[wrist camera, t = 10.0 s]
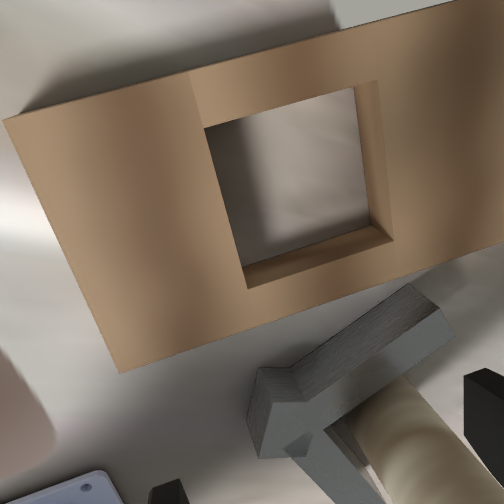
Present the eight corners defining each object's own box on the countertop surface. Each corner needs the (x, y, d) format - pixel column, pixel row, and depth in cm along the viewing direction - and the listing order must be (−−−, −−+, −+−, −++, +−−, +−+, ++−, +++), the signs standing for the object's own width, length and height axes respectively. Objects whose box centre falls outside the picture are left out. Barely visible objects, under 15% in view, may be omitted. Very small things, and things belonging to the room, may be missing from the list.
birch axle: (342, 433, 25) (461, 641, 16) (331, 379, 23) (457, 577, 14) (407, 407, 25) (558, 596, 16) (401, 353, 23) (566, 529, 14)
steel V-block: (228, 494, 24) (238, 537, 22) (281, 272, 20) (299, 298, 18) (359, 485, 27) (379, 523, 24) (432, 285, 22) (465, 309, 20)
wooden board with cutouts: (121, 345, 19) (119, 373, 17) (18, 114, 15) (1, 120, 13) (483, 223, 22) (515, 237, 20) (482, -8, 17) (522, -17, 15)
